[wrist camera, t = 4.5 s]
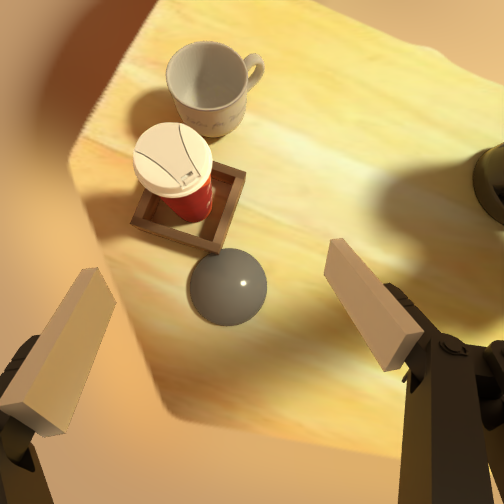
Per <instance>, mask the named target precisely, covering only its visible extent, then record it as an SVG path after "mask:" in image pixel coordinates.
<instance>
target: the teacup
mask: <svg viewBox="0 0 504 504" xmlns="http://www.w3.org/2000/svg"><path fill="white" fill-rule="evenodd" d="M254 65H256V68H255V70H254V72H253V74H252V75H251V76H250V77H249V78H248V71H249V70H250V68H251V67H252V66H254ZM264 69H265V65H264V61H263V59H262V58H261V56H260V55H258V54H256V53H253V54H250V55H248V56H247V57H246V58H245V59H244V60H243V59H242V58H241V57H240V55H239V54H238V53H237V52H235V51H234V50H233V49H232V48H230V47H228V46H227V45H224V44H222V43H218V42H212V41H200V42H194V43H191V44H188V45H186V46H184V47H183V48H181V49H180V50H178V51H177V52H176V53H175V54H174V55H173V56H172V58H171V59H170V61H169V63H168V65H167V69H166V82H167V86H168V88H169V91H170V93H171V94H172V97H173V100H174V103H175V105H176V108H177V110H178V113H179V115H180V117H181V119H182V120H183V122H184V123H185V124H186V125H187V126H189V127H190V128H192V129H193V130H195V131H196V132H197V133H198V134H199V135H202V136H206V137H220V136H224V135H226V134H228V133H230V132H232V131H233V130H235V129H236V128H237V127H238V125H239V124H240V123H241V121H242V119H243V117H244V114H245V110H246V101H247V92H248V91H250V90H251V89H252V88H253V87H254V86H255V85H256V84H257V83H258V82H259V80H260V79H261V77H262V76H263V73H264Z"/></svg>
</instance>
